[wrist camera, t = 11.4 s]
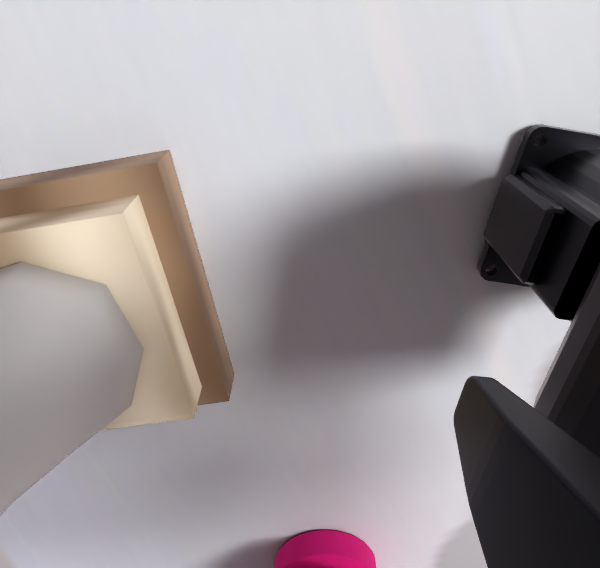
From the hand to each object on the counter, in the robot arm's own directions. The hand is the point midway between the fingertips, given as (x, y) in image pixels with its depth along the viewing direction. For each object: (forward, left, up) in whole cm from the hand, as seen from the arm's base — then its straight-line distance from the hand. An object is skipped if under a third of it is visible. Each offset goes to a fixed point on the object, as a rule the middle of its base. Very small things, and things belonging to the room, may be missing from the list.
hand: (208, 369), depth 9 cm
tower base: (+7, +7, -13) cm, 16 cm away
